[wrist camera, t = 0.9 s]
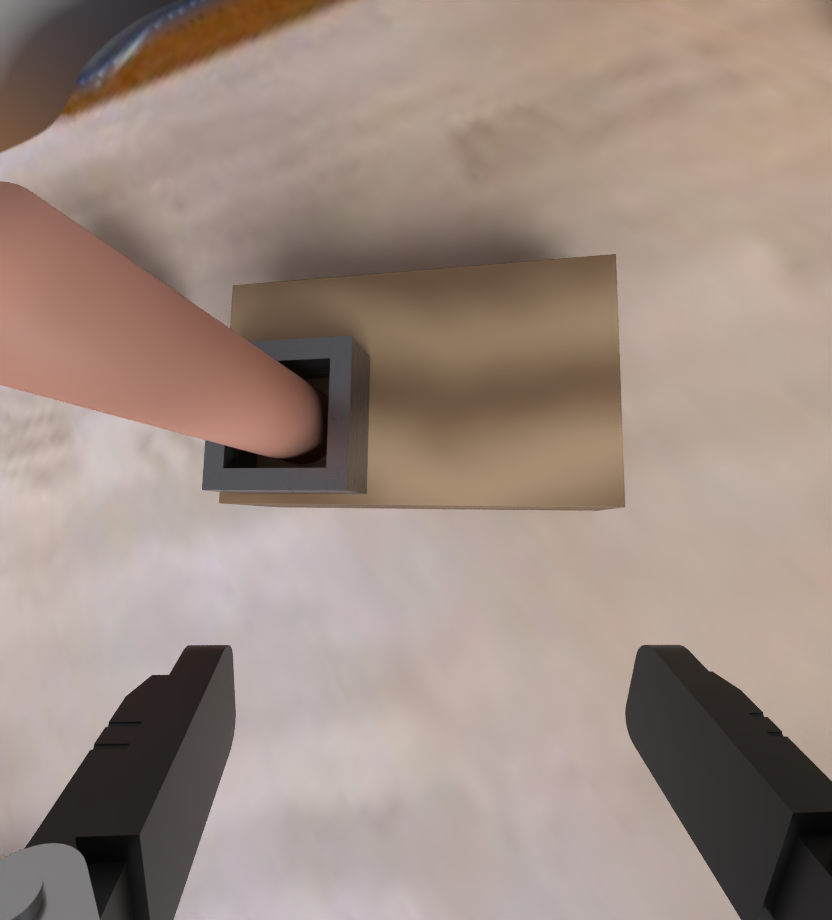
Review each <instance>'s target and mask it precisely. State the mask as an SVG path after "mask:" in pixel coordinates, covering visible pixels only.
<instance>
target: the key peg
mask: <svg viewBox="0 0 832 920" xmlns="http://www.w3.org/2000/svg"><path fill="white" fill-rule="evenodd" d="M0 385H3V386H7V387H10V388H14V389H18V390H21V391H25V392H29V393H33V394H36V395H40V396H44V397H47V398H51V399H55V400H59V401H62V402H66V403H70V404H73V405H77V406H81V407H85V408H88V409H92V410H96V411H99V412H103V413H107V414H111V415H114V416H118V417H122V418H125V419H129V420H133V421H137V422H140V423H144V424H148V425H151V426H155V427H159V428H163V429H166V430H170V431H174V432H177V433H181V434H185V435H189V436H192V437H196V438H200V439H203V440H207V441H211V442H215V443H218V444H222V445H226V446H229V447H233V448H237V449H241V450H244V451H248V452H252V453H255V454H259V455H263V456H267V457H270V458H274V459H278V460H281V461H285V462H289V463H293V464H300V465H303V464H310V463H313V462H316V461H318V460H320V459H321V458H323V457H324V456H325V455H327V433H328V406H329V397H328V396H327V395H326V394H324V393H323V392H321V391H320V390H318V389H317V388H315V387H314V386H313V385H311V384H310V383H308V382H307V381H305V380H304V379H302V378H301V377H299V376H298V375H297V374H295V373H294V372H292V371H291V370H289V369H288V368H286V367H285V366H284V365H282V364H281V363H279V362H278V361H276V360H275V359H273V358H272V357H270V356H269V355H268V354H266V353H265V352H263V351H262V350H260V349H259V348H257V347H256V346H255V345H253V344H252V343H250V342H249V341H247V340H246V339H244V338H243V337H241V336H240V335H239V334H237V333H236V332H234V331H233V330H231V329H230V328H228V327H227V326H225V325H224V324H223V323H221V322H220V321H218V320H217V319H215V318H214V317H212V316H211V315H210V314H208V313H207V312H205V311H204V310H202V309H201V308H199V307H198V306H196V305H195V304H194V303H192V302H191V301H189V300H188V299H186V298H185V297H183V296H182V295H181V294H179V293H178V292H176V291H175V290H173V289H172V288H170V287H169V286H167V285H166V284H165V283H163V282H162V281H160V280H159V279H157V278H156V277H154V276H153V275H151V274H150V273H149V272H147V271H146V270H144V269H143V268H141V267H140V266H138V265H137V264H136V263H134V262H133V261H131V260H130V259H128V258H127V257H125V256H124V255H122V254H121V253H120V252H118V251H117V250H115V249H114V248H112V247H111V246H109V245H108V244H107V243H105V242H104V241H102V240H101V239H99V238H98V237H96V236H95V235H93V234H92V233H91V232H89V231H88V230H86V229H85V228H83V227H82V226H80V225H79V224H77V223H76V222H75V221H73V220H72V219H70V218H69V217H67V216H66V215H64V214H63V213H62V212H60V211H59V210H57V209H56V208H54V207H53V206H51V205H50V204H48V203H47V202H46V201H44V200H43V199H41V198H40V197H38V196H37V195H35V194H34V193H32V192H31V191H29V190H28V189H26V188H24V187H22V186H20V185H17V184H13V183H9V182H0Z"/></svg>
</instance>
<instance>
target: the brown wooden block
mask: <svg viewBox="0 0 832 920" xmlns="http://www.w3.org/2000/svg"><path fill="white" fill-rule="evenodd" d="M230 329H231V330H233V331H234V332H236V333H237V334H239V335H240V336H241V337H243V338H244V339H246V340H247V341H249V342H250V343H252V344H253V345H255V346H256V347H257V348H259V349H260V350H262V351H263V352H265V353H266V354H268V355H269V356H270V357H272V358H273V359H275V360H276V361H278V362H279V363H281V364H282V365H284V366H285V367H286V368H288V369H289V370H291V371H292V372H294V373H295V374H297V375H298V376H299V377H301V378H302V379H304V380H305V381H307V382H308V383H310V384H311V385H313V386H314V387H315V388H317V389H318V390H320V391H321V392H323V393H324V394H326V395H327V396H328V397H329V406H328V433H327V455H325V456H324V457H323V458H321V459H320V460H318V461H316V462H313V463H310V464H303V465H300V464H293V463H289V462H285V461H281V460H278V459H274V458H270V457H267V456H263V455H259V454H255V453H252V452H248V451H244V450H241V449H237V448H233V447H229V446H226V445H222V444H218V443H215V442H211V441H207V440H205V454H204V469H203V484H202V490H207V491H216V492H220V498H219V503H224V504H239V505H254V506H269V507H307V508H403V509H498V510H594V511H598V510H606V509H613V508H620V507H625V490H624V463H623V436H622V409H621V381H620V354H619V327H618V300H617V272H616V254H612V255H600V256H587V257H575V258H563V259H551V260H538V261H526V262H514V263H502V264H490V265H477V266H465V267H453V268H441V269H428V270H416V271H404V272H392V273H379V274H367V275H355V276H343V277H331V278H318V279H306V280H294V281H282V282H269V283H257V284H245V285H233V294H232V310H231V326H230Z"/></svg>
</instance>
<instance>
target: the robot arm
mask: <svg viewBox="0 0 832 920" xmlns="http://www.w3.org/2000/svg"><path fill="white" fill-rule="evenodd" d="M625 715H626V724H627V729H628V732H629V735H630V738H631V740H632V742H633V744H634V746H635V748H636V749H637V751H638V752H639V754H640V756H641V757H642V759H643V761H644V762H645V764H646V765H647V767H648V769H649V770H650V772H651V774H652V775H653V777H654V778H655V780H656V782H657V783H658V785H659V787H660V788H661V790H662V791H663V793H664V795H665V796H666V798H667V800H668V801H669V803H670V804H671V806H672V808H673V809H674V811H675V813H676V814H677V816H678V818H679V819H680V821H681V822H682V824H683V826H684V827H685V829H686V831H687V832H688V834H689V835H690V837H691V839H692V840H693V842H694V844H695V845H696V847H697V848H698V850H699V852H700V853H701V855H702V857H703V858H704V860H705V861H706V863H707V865H708V866H709V868H710V870H711V871H712V873H713V874H714V876H715V878H716V879H717V881H718V883H719V884H720V886H721V887H722V889H723V891H724V892H725V894H726V896H727V897H728V899H729V900H730V902H731V904H732V905H733V907H734V909H735V910H736V912H737V913H738V915H739V917H740V918H741V920H832V781H831V780H830V779H829V778H828V777H827V776H826V775H825V774H824V773H823V772H822V771H821V770H820V769H819V768H818V767H817V766H816V765H815V764H814V763H813V762H812V761H811V760H810V759H809V758H808V757H807V756H806V755H805V754H804V753H803V752H802V751H801V750H800V749H799V748H798V747H797V746H796V745H795V744H794V743H793V742H792V741H791V740H790V739H789V738H788V737H784V736H783V735H782V731H781V730H780V729H779V728H778V727H777V726H776V725H775V724H774V723H773V722H772V721H771V720H770V719H769V718H768V717H764V716H763V712H762V711H761V710H760V709H759V708H758V707H757V706H756V705H755V704H754V703H753V702H752V701H751V700H750V699H749V698H748V697H747V696H746V695H745V694H744V693H743V692H742V691H741V690H740V689H738V688H737V687H735V686H733V685H732V684H730V683H729V682H727V681H726V680H724V679H723V678H721V677H720V676H718V675H717V674H715V673H714V672H709V671H708V670H707V669H706V668H705V667H704V666H703V665H702V664H701V663H700V662H699V661H698V660H697V659H696V658H695V657H694V656H693V654H692V653H691V652H690V651H689V650H688V649H686V648H685V647H684V646H681V645H643V646H641V647H640V648H639V649H638V652H637V655H636V659H635V664H634V669H633V674H632V679H631V684H630V689H629V694H628V699H627V704H626V712H625ZM235 717H236V711H235V690H234V670H233V653H232V649H231V646H230V645H189V646H187V647H186V648H185V649H184V651H183V652H182V654H181V656H180V657H179V659H178V661H177V662H176V664H175V666H174V668H173V669H172V671H171V673H170V674H169V675H152V676H151V677H149V678H148V679H147V680H146V681H144V682H143V683H142V684H141V685H139V686H138V687H137V688H136V689H135V690H133V691H132V692H131V693H130V694H128V695H127V696H126V697H125V699H124V700H123V702H122V703H121V705H120V706H119V708H118V709H117V711H116V712H115V714H114V715H113V717H112V718H111V720H110V721H109V725H108V727H105V729H104V730H103V732H102V733H101V735H100V736H99V738H98V739H97V741H96V742H95V744H94V748H93V750H90V751H89V753H88V754H87V756H86V757H85V759H84V760H83V762H82V763H81V765H80V766H79V768H78V769H77V771H76V772H75V774H74V775H73V777H72V778H71V780H70V781H69V783H68V784H67V786H66V787H65V789H64V790H63V792H62V794H61V795H60V797H59V798H58V800H57V801H56V803H55V804H54V806H53V807H52V809H51V810H50V812H49V813H48V815H47V816H46V818H45V819H44V821H43V822H42V824H41V825H40V827H39V828H38V830H37V831H36V833H35V834H34V836H33V837H32V839H31V840H30V842H29V843H28V844H27V846H26V847H25V848H24V849H23V850H20V851H18V852H16V853H14V854H11V855H9V856H7V857H5V858H4V859H2V860H0V920H173V919H174V916H175V913H176V910H177V907H178V904H179V901H180V898H181V896H182V893H183V890H184V887H185V884H186V881H187V878H188V875H189V872H190V869H191V866H192V863H193V860H194V857H195V854H196V851H197V848H198V845H199V842H200V839H201V836H202V833H203V830H204V827H205V824H206V821H207V818H208V815H209V812H210V809H211V806H212V803H213V800H214V797H215V794H216V791H217V788H218V785H219V783H220V780H221V777H222V774H223V771H224V768H225V765H226V762H227V759H228V756H229V753H230V749H231V746H232V741H233V736H234V729H235Z"/></svg>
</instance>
